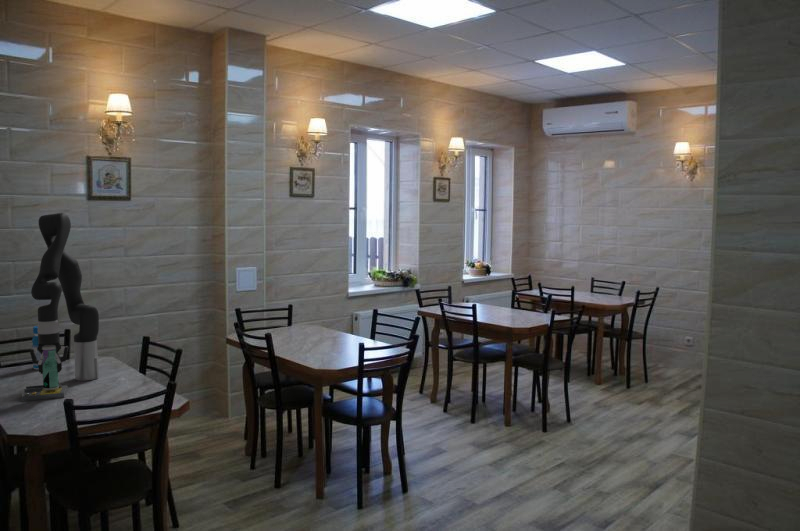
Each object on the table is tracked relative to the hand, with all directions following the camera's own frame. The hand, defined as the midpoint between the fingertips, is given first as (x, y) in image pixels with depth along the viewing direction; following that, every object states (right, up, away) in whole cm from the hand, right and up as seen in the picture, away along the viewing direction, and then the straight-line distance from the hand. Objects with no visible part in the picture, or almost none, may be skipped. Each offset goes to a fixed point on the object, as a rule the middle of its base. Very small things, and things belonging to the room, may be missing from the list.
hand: (50, 372), depth 257 cm
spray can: (0, -7, +1) cm, 7 cm away
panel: (-3, -10, +2) cm, 11 cm away
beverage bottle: (-28, -6, +45) cm, 54 cm away
